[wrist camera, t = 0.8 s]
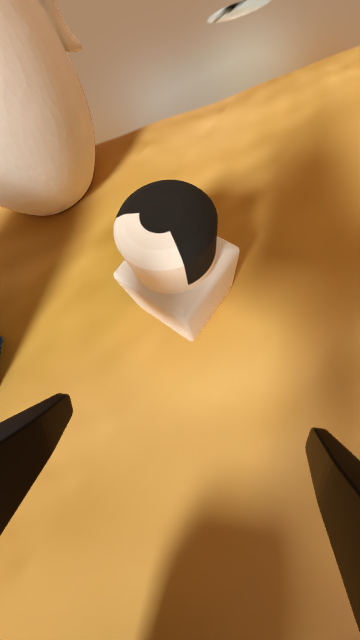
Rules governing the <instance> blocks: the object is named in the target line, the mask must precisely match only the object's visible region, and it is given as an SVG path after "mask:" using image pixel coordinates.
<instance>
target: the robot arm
mask: <svg viewBox="0 0 360 640" xmlns="http://www.w3.org/2000/svg"><path fill="white" fill-rule="evenodd" d="M72 413H73V408H72V404H71V399H70V396H69V395H68V394H62V393H58V394H56V395H54V396H52V397H50V398H48V399H46V400H44V401H42V402H40V403H38V404H36V405H34V406H32V407H30V408H28V409H26V410H24V411H22V412H20V413H18V414H16V415H14V416H12V417H10V418H8V419H6V420H5V421H3V422H1V423H0V535H1V534H2V532H3V531H4V529H5V527H6V526H7V524H8V523H9V521H10V519H11V518H12V516H13V515H14V513H15V512H16V510H17V508H18V507H19V505H20V504H21V502H22V501H23V499H24V497H25V496H26V494H27V493H28V491H29V490H30V488H31V486H32V485H33V483H34V482H35V480H36V479H37V477H38V475H39V474H40V472H41V471H42V469H43V468H44V466H45V464H46V463H47V461H48V460H49V458H50V456H51V455H52V453H53V451H54V449H55V447H56V446H57V444H58V442H59V440H60V438H61V436H62V434H63V432H64V430H65V428H66V426H67V424H68V422H69V420H70V419H71V416H72ZM306 454H307V458H308V463H309V467H310V472H311V476H312V481H313V485H314V490H315V494H316V498H317V502H318V506H319V509H320V512H321V515H322V518H323V521H324V524H325V527H326V531H327V534H328V537H329V540H330V543H331V546H332V549H333V552H334V555H335V558H336V561H337V564H338V567H339V570H340V573H341V576H342V579H343V583H344V586H345V589H346V592H347V595H348V598H349V601H350V604H351V607H352V610H353V613H354V616H355V619H356V622H357V625H358V628H359V631H360V460H359V459H358V458H357V457H355V456H354V455H353V454H352V453H351V452H350V451H349V450H348V449H347V448H346V447H345V446H343V445H342V444H341V443H340V442H339V441H338V440H337V439H336V438H335V437H334V436H333V435H332V434H330V433H329V432H328V431H327V430H326V429H322V428H315V427H313V428H311V430H310V432H309V436H308V439H307V442H306Z"/></svg>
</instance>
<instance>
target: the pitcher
mask: <svg viewBox="0 0 360 640" xmlns="http://www.w3.org/2000/svg"><path fill="white" fill-rule="evenodd" d="M81 49H82V45H81V43H80V42H79V41H78V40H77V38H76V37H75V36H74V35H73V34H72V33H71V31H70V30H69V29H68V27H67V26H66V24H65V22H64V21H63V19H62V17H61V14H60V12H59V10H58V7H57V4H56V1H55V0H0V206H1V207H4V208H7V209H10V210H13V211H17V212H21V213H25V214H30V215H38V216H47V215H53V214H56V213H59V212H62V211H64V210H66V209H68V208H70V207H71V206H73V205H74V204H75V203H76V202H78V201H79V200H80V199H81V198H82V196H83V195H84V194H85V193H86V191H87V190H88V188H89V186H90V184H91V181H92V178H93V173H94V165H95V141H94V131H93V125H92V120H91V115H90V111H89V108H88V105H87V101H86V99H85V95H84V93H83V90H82V87H81V85H80V82H79V79H78V77H77V74H76V72H75V70H74V68H73V65H72V63H71V61H70V59H69V57H68V55H67V53H66V51H68V52H77V51H80V50H81Z"/></svg>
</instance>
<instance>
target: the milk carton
mask: <svg viewBox="0 0 360 640" xmlns="http://www.w3.org/2000/svg"><path fill="white" fill-rule="evenodd" d="M2 341H3V337H0V354H1V348H2Z"/></svg>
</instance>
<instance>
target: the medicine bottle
mask: <svg viewBox="0 0 360 640" xmlns="http://www.w3.org/2000/svg"><path fill="white" fill-rule="evenodd" d="M217 224H218V220H217V212H216V208H215V206H214V204H213V202H212V201H211V199H210V198H209V197H208V195H207V194H206V193H204V192H203V191H202V190H201V189H199V188H197V187H196V186H194V185H192V184H190V183H187V182H184V181H179V180H162V181H156V182H153V183H150V184H147V185H145V186H143V187H141V188H140V189H138V190H136V191H135V192H134V193H132V194H131V195H130V196H129V197H128V198H127V199H126V201H125V202H124V203H123V205H122V206H121V208H120V210H119V212H118V214H117V216H116V219H115V223H114V240H115V243H116V246H117V248H118V250H119V251H120V253H121V254H122V256H123V257H124V259H125V260H124V261H123V262H122V263H121V265H120V266H119V267H118V268H117V270H116V271H115V272H114V278H115V279H116V280H117V281H118V282H119V284H120V285H121V286H122V287H123V288H124V289H125V290H126V292H127V293H128V294H129V295H130V296H131V297H132V298H133V299H134V301H135V302H136V303H137V304H138V305H139V306H140V307H141V308H143V309H144V310H146V311H147V312H149V313H150V314H151V315H153V316H154V317H156V318H157V319H159V320H160V321H162V322H163V323H165V324H166V325H167V326H169V327H170V328H172V329H173V330H175V331H176V332H178V333H179V334H180V335H182V336H183V337H185V338H186V339H188V340H189V341H194V340H195V339H196V338H197V336H198V335H199V333H200V332H201V331H202V329H203V328H204V326H205V325H206V323H207V322H208V321H209V319H210V318H211V316H212V315H213V314H214V312H215V311H216V309H217V308H218V306H219V305H220V304H221V302H222V301H223V299H224V298H225V297H226V295H227V294H228V292H229V291H230V289H231V288H232V284H233V279H234V275H235V270H236V266H237V262H238V257H239V253H240V250H239V247H237V246H236V245H234V244H232V243H230V242H228V241H226V240H224V239H222V238H220V237H218V236H217Z"/></svg>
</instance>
